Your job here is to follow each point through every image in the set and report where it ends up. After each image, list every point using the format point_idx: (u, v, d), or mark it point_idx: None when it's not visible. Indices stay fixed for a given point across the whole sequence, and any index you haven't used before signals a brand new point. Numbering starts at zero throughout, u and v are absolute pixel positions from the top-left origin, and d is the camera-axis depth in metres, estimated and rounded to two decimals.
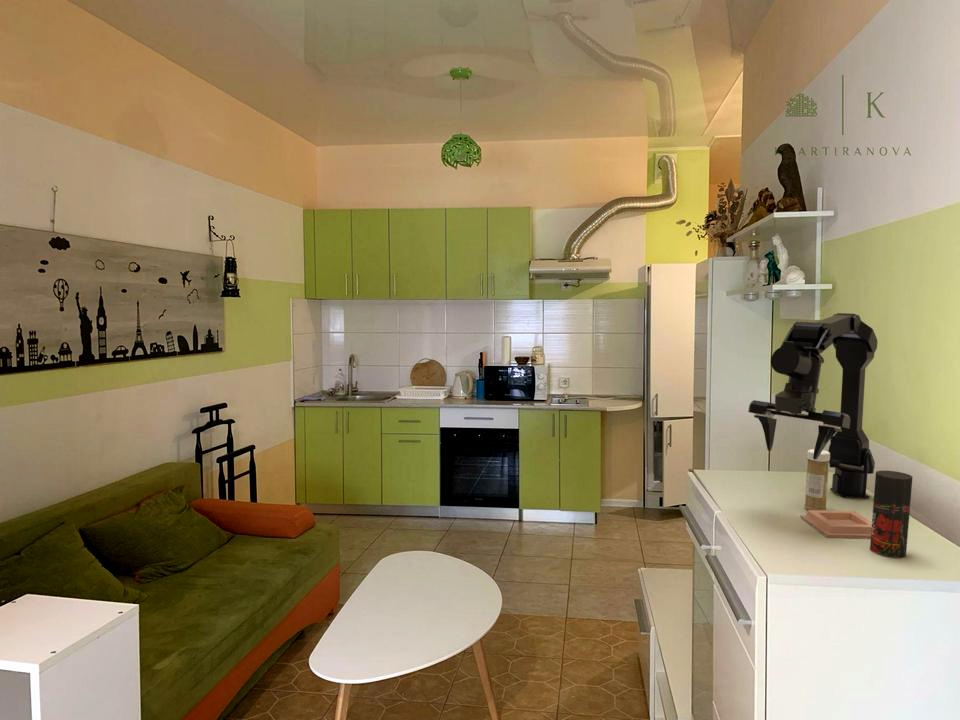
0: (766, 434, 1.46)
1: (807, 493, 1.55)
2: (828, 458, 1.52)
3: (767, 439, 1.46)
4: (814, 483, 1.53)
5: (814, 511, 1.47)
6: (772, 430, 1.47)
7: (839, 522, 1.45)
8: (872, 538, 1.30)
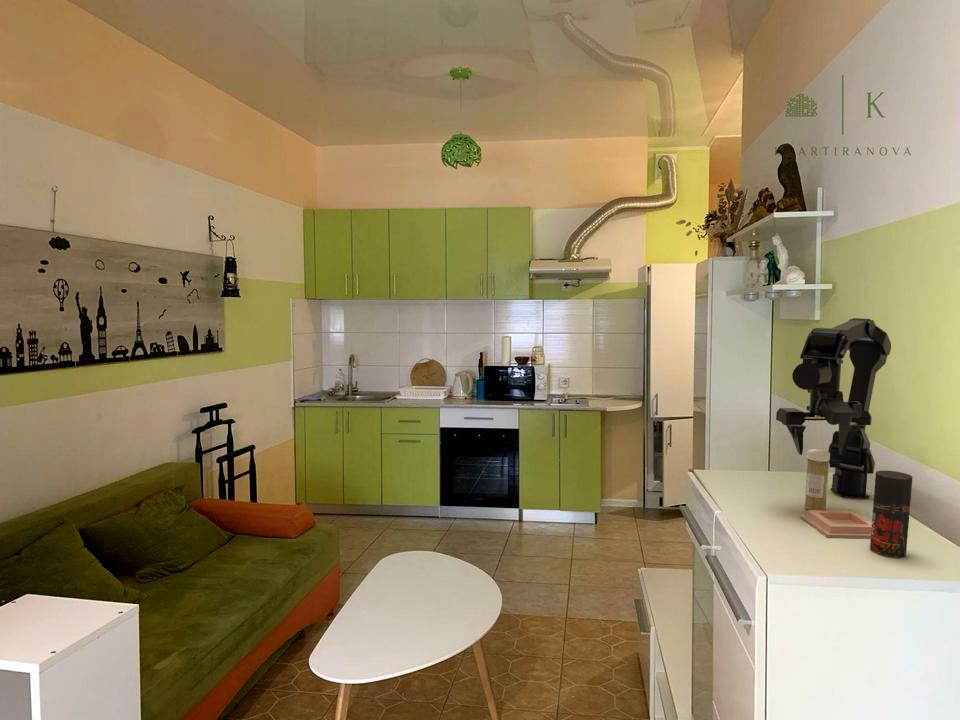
0: (800, 441, 1.52)
1: (807, 493, 1.55)
2: (828, 458, 1.52)
3: (801, 445, 1.52)
4: (814, 483, 1.53)
5: (814, 511, 1.47)
6: None
7: (839, 522, 1.45)
8: (872, 538, 1.30)
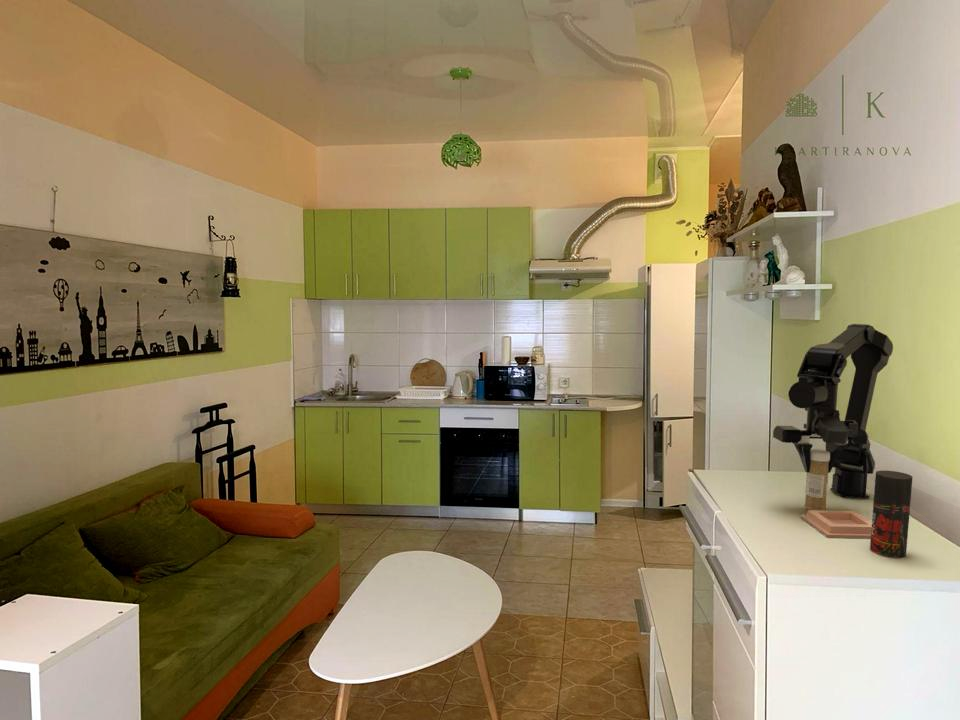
0: (807, 459, 1.53)
1: (807, 493, 1.55)
2: (828, 458, 1.52)
3: (807, 463, 1.53)
4: (814, 483, 1.53)
5: (814, 511, 1.47)
6: None
7: (839, 522, 1.45)
8: (872, 538, 1.30)
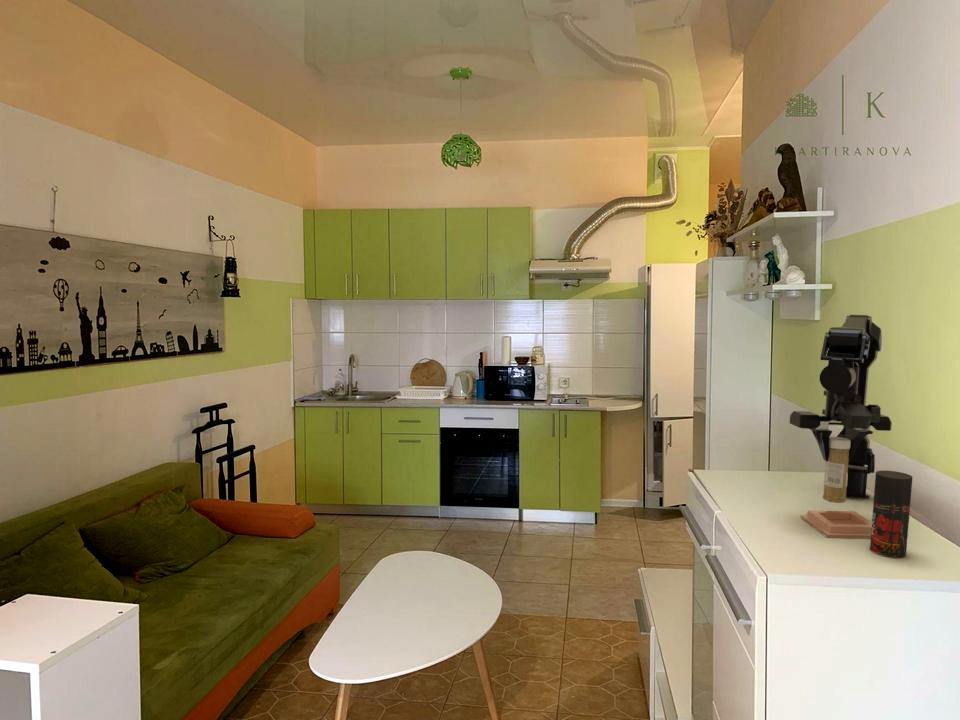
0: (826, 446, 1.44)
1: (826, 483, 1.46)
2: (848, 446, 1.43)
3: (826, 451, 1.44)
4: (833, 472, 1.44)
5: (814, 511, 1.47)
6: None
7: (839, 522, 1.45)
8: (872, 538, 1.30)
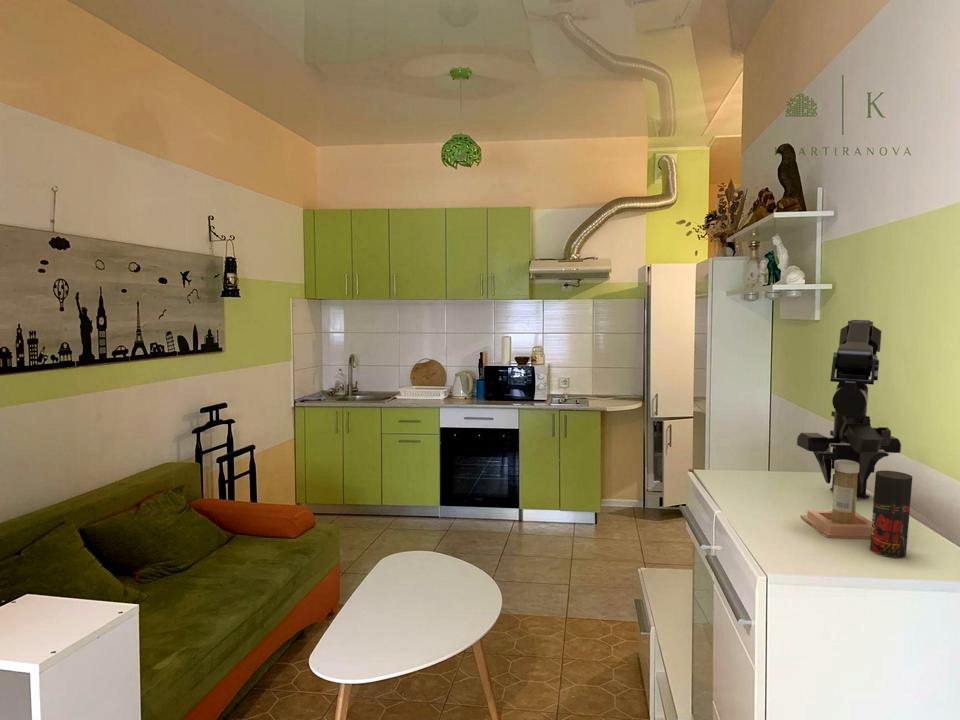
0: (828, 468, 1.41)
1: (834, 507, 1.43)
2: (857, 469, 1.40)
3: (828, 473, 1.41)
4: (842, 496, 1.41)
5: (814, 511, 1.47)
6: None
7: None
8: (872, 538, 1.30)
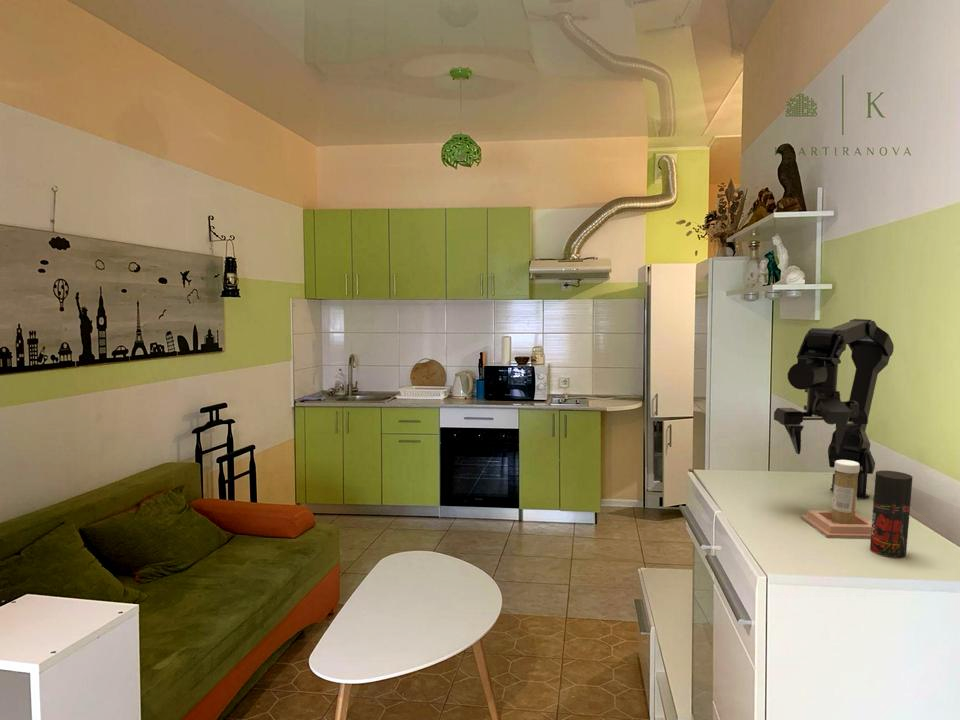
0: (798, 440, 1.53)
1: (834, 507, 1.43)
2: (858, 470, 1.40)
3: (798, 444, 1.53)
4: (842, 496, 1.41)
5: (814, 511, 1.47)
6: None
7: None
8: (872, 538, 1.30)
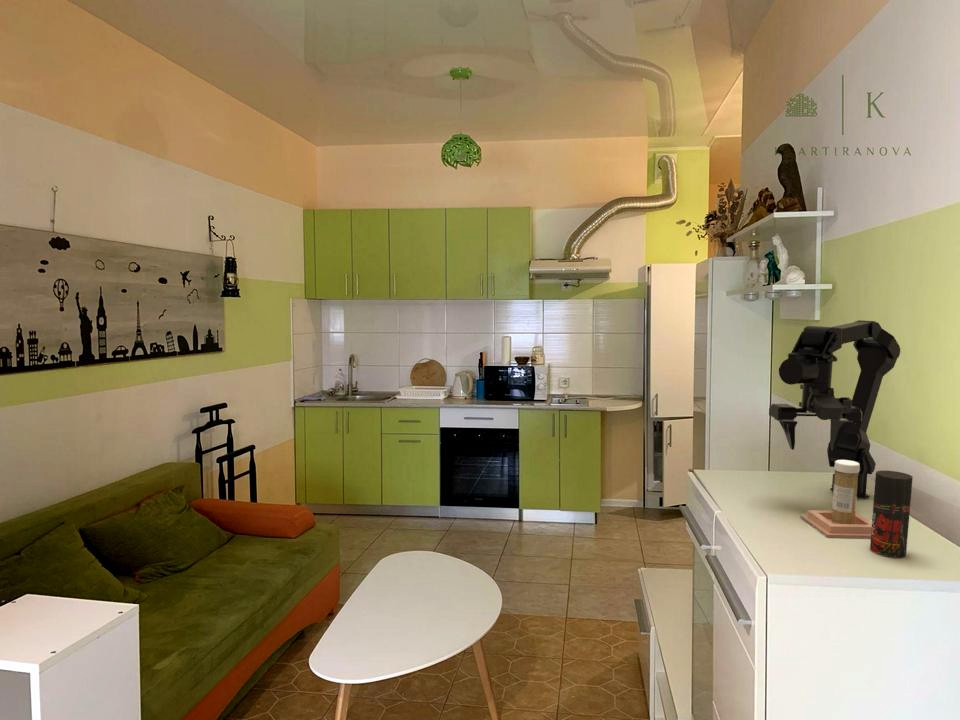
0: (792, 436, 1.55)
1: (834, 507, 1.43)
2: (858, 470, 1.40)
3: (792, 440, 1.56)
4: (842, 496, 1.41)
5: (814, 511, 1.47)
6: None
7: None
8: (872, 538, 1.30)
